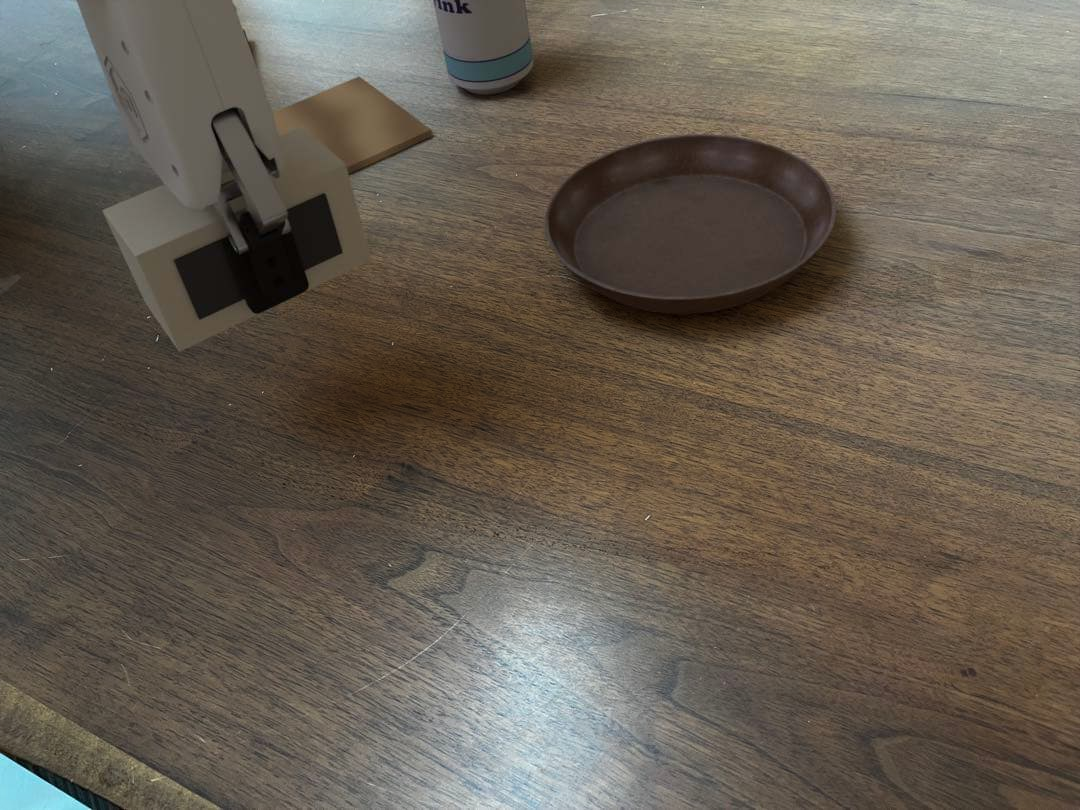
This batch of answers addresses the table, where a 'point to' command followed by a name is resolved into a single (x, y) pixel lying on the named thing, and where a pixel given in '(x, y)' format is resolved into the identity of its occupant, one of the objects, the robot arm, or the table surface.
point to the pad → (354, 123)
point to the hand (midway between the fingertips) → (255, 269)
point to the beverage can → (485, 43)
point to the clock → (200, 239)
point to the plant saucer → (690, 222)
